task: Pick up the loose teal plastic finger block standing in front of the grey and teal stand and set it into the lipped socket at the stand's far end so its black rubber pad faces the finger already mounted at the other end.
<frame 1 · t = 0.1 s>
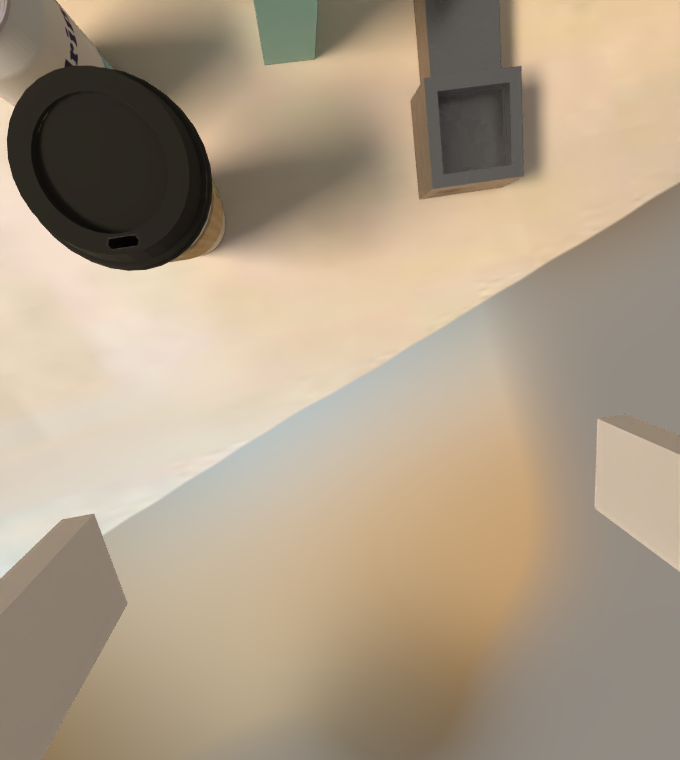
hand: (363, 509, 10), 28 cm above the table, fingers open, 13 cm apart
beverage can: (85, 100, 30), on the table
grey and teal stand: (452, 55, 32), on the table
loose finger: (284, 32, 30), on the table
coffee cup: (190, 220, 33), on the table
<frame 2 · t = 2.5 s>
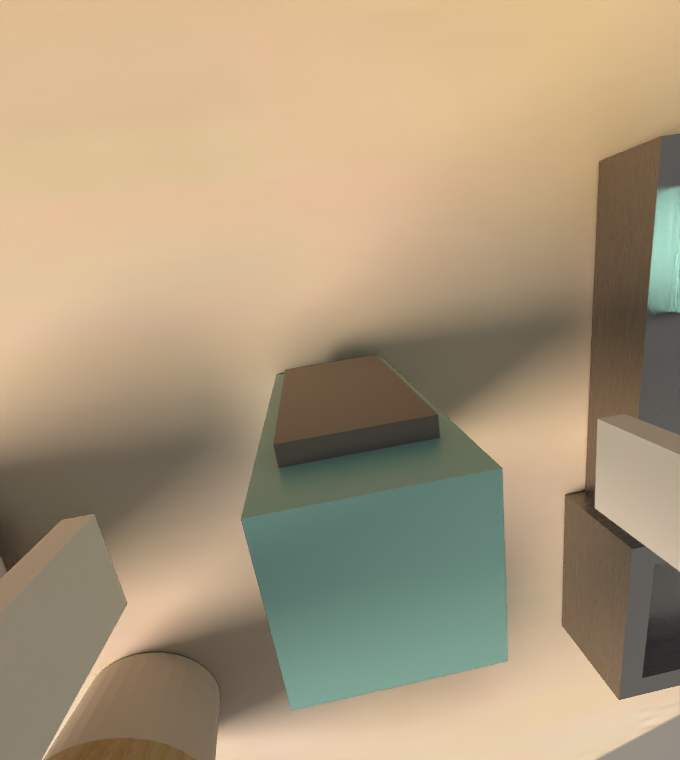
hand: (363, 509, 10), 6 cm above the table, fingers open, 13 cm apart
grey and teal stand: (649, 421, 17), on the table
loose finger: (337, 414, 15), on the table
coffee cup: (156, 696, 18), on the table
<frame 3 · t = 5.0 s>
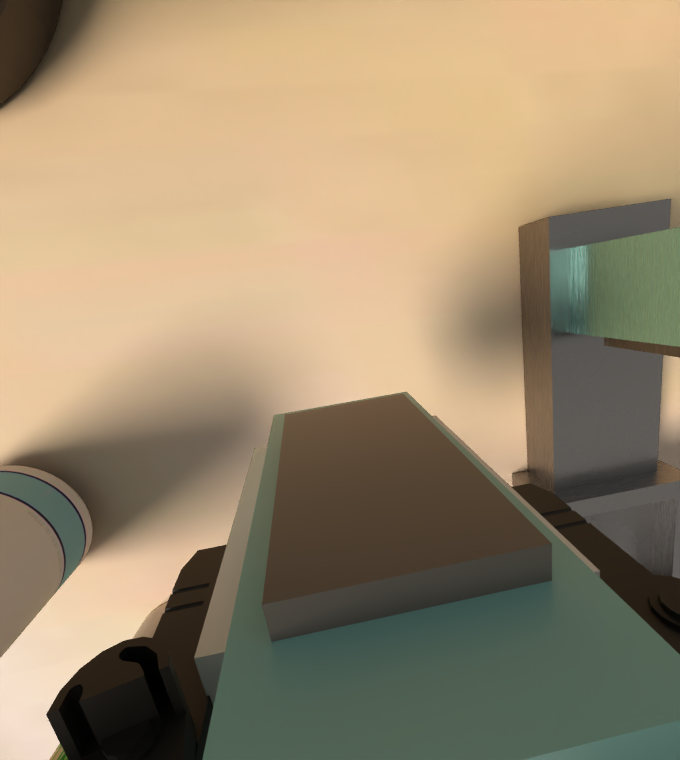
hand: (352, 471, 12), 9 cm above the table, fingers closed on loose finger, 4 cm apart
beverage can: (38, 513, 20), on the table
grey and teal stand: (574, 415, 22), on the table
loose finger: (350, 463, 12), point 8 cm above the table, touching gripper
coffee cup: (192, 636, 23), on the table
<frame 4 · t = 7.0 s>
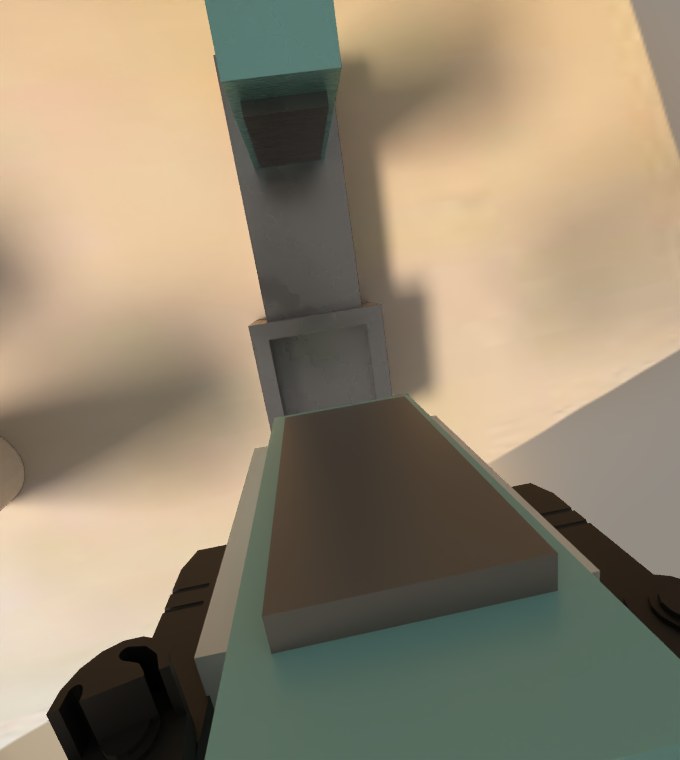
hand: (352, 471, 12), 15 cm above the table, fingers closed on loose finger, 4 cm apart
grey and teal stand: (305, 266, 24), on the table
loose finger: (351, 466, 12), point 15 cm above the table, touching gripper
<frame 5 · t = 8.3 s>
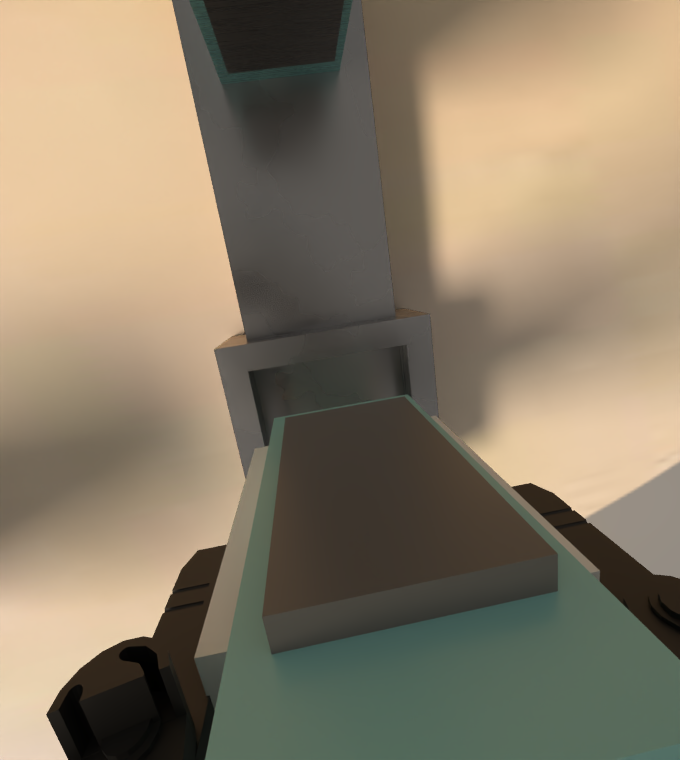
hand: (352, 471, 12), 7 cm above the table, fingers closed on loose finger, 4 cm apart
grey and teal stand: (307, 254, 16), on the table
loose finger: (351, 466, 12), point 6 cm above the table, touching gripper
when the fingers open (5 cm above the table, at t = 9.4 s): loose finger drops 2 cm, resting on grey and teal stand.
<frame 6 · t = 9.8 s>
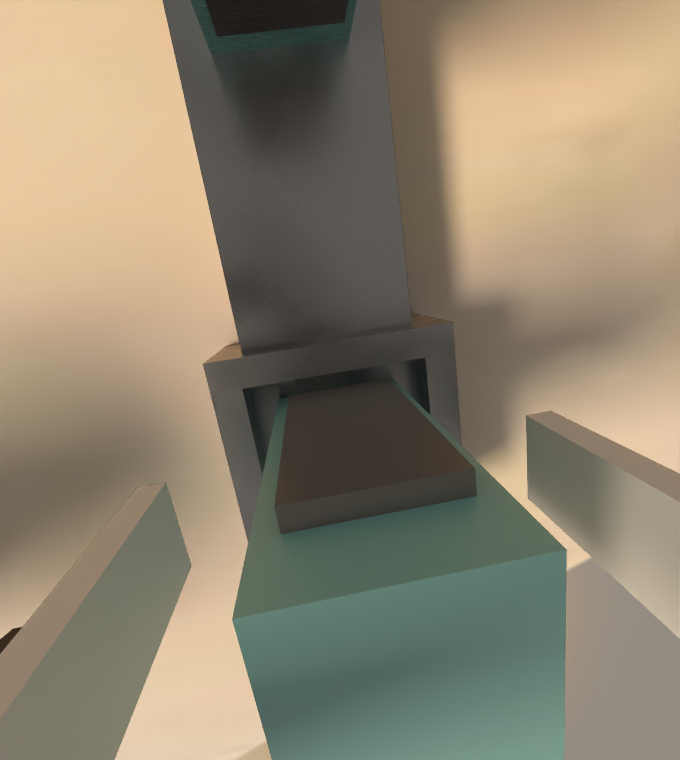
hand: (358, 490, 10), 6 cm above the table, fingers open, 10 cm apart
grey and teal stand: (311, 253, 14), on the table
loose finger: (345, 441, 14), point 2 cm above the table, touching grey and teal stand
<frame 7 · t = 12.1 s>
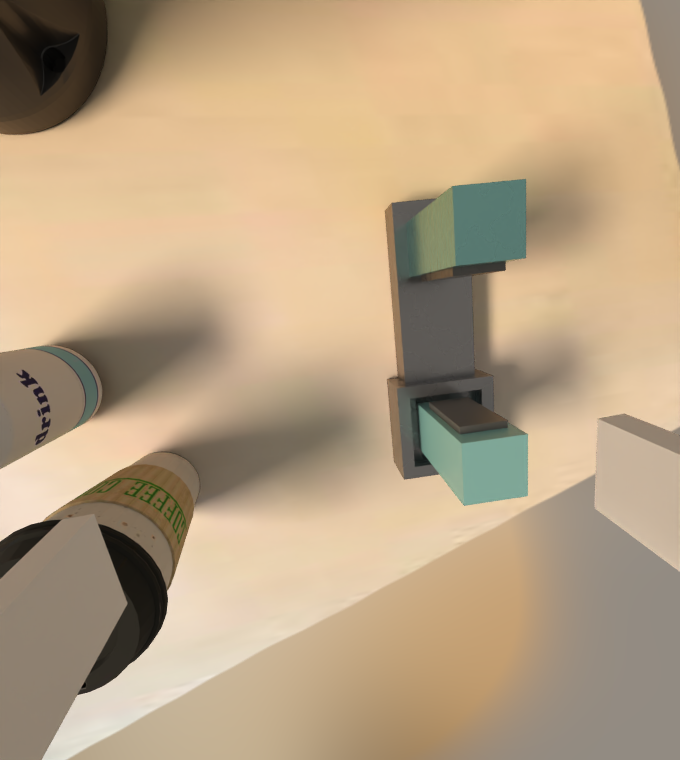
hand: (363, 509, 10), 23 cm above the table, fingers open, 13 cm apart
beverage can: (66, 384, 30), on the table
grey and teal stand: (428, 340, 32), on the table
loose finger: (442, 423, 31), point 2 cm above the table, touching grey and teal stand
coffee cup: (165, 483, 33), on the table
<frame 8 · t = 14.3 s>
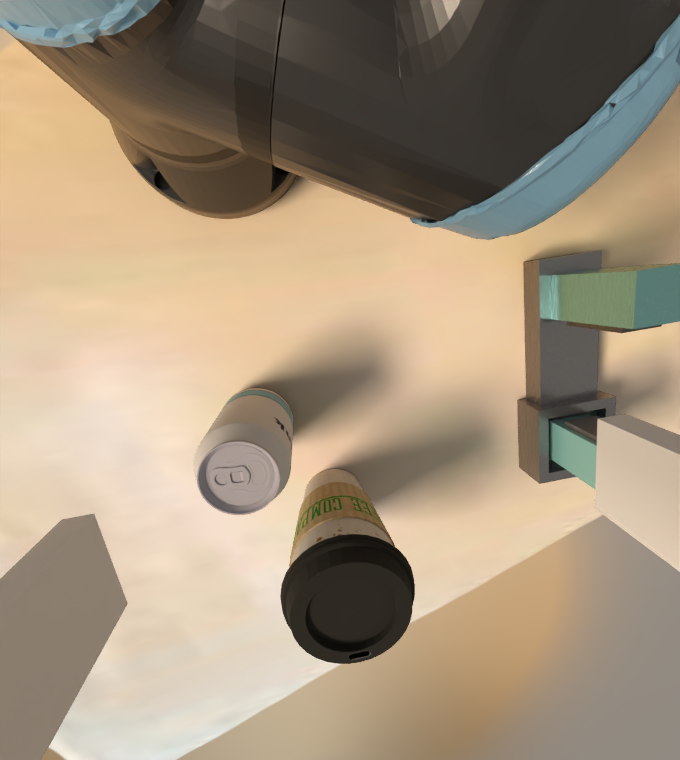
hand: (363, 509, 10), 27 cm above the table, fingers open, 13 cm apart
beverage can: (258, 417, 37), on the table
grey and teal stand: (552, 366, 38), on the table
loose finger: (568, 436, 38), point 2 cm above the table, touching grey and teal stand
coffee cup: (333, 493, 40), on the table
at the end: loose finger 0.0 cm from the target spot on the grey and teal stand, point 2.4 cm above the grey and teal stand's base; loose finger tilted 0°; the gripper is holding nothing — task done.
